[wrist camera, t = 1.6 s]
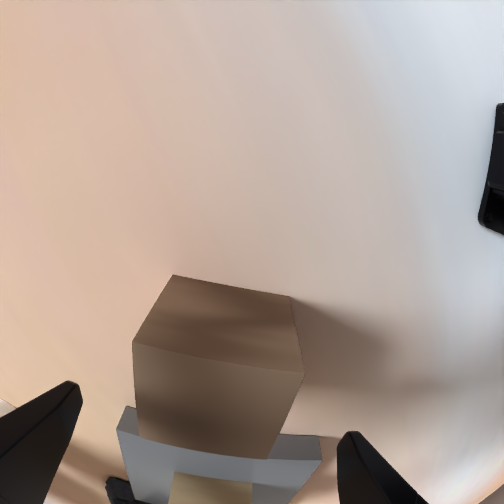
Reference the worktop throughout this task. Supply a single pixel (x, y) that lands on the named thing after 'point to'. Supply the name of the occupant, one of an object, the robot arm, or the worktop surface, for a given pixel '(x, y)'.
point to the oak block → (208, 490)
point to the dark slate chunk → (121, 492)
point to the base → (215, 465)
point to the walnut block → (216, 368)
